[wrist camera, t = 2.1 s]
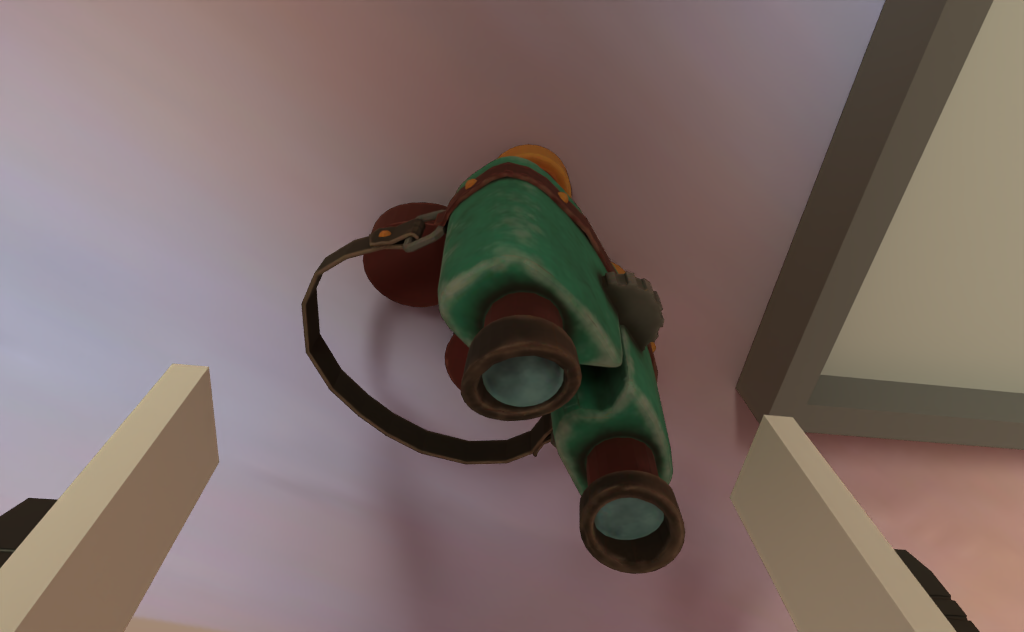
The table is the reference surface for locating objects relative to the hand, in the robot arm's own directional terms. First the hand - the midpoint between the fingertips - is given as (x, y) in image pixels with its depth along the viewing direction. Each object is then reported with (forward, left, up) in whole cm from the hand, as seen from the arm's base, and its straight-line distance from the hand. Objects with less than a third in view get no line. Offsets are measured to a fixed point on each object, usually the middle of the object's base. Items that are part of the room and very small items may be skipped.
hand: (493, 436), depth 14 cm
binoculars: (0, 0, -8) cm, 8 cm away
